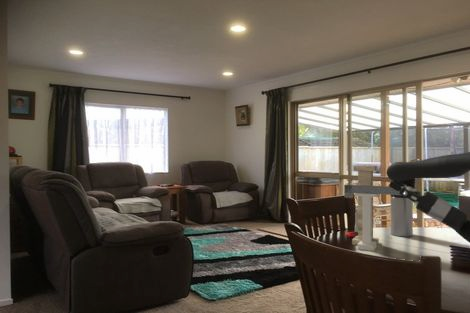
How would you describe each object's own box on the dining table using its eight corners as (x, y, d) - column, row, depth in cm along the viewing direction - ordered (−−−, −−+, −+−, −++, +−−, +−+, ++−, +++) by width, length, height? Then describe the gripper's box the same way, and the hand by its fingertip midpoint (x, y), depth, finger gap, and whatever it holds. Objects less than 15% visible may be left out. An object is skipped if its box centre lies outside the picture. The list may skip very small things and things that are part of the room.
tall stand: (356, 240, 158) (356, 165, 158) (378, 242, 154) (378, 165, 154) (352, 244, 151) (352, 165, 151) (375, 247, 147) (375, 166, 147)
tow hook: (344, 234, 173) (347, 237, 164) (344, 206, 174) (347, 208, 165) (362, 234, 172) (366, 238, 163) (362, 206, 172) (366, 208, 163)
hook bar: (346, 196, 150) (346, 184, 150) (405, 200, 139) (405, 186, 139) (344, 197, 147) (344, 184, 147) (405, 200, 136) (405, 187, 136)
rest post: (358, 245, 149) (358, 192, 149) (379, 248, 145) (379, 193, 145) (354, 248, 144) (354, 193, 144) (376, 251, 140) (376, 194, 140)
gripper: (440, 195, 138) (399, 173, 145) (439, 199, 126) (394, 174, 133) (428, 212, 140) (388, 189, 147) (426, 218, 128) (383, 192, 135)
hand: (391, 182), depth 140 cm, fingers open, 8 cm apart
